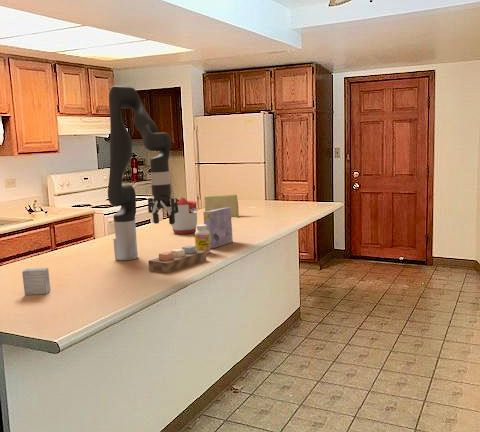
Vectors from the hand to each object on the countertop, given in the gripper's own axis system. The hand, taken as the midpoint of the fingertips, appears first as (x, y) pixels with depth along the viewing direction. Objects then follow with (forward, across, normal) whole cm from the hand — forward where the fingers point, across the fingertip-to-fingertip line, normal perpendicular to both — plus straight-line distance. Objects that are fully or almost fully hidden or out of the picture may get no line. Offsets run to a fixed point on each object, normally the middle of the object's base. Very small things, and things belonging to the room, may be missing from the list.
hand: (164, 223), depth 217 cm
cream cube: (+16, 0, -7) cm, 17 cm away
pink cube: (+16, 0, 0) cm, 16 cm away
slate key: (+16, 0, -14) cm, 21 cm away
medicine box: (+19, +18, +47) cm, 54 cm away
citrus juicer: (+18, +50, -68) cm, 86 cm away
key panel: (+19, 0, -7) cm, 20 cm away
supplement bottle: (+19, +6, -30) cm, 36 cm away
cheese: (+18, +66, -123) cm, 140 cm away
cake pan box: (+19, +10, -48) cm, 52 cm away
